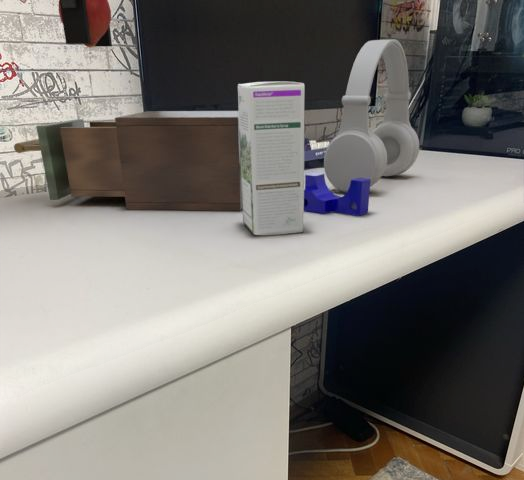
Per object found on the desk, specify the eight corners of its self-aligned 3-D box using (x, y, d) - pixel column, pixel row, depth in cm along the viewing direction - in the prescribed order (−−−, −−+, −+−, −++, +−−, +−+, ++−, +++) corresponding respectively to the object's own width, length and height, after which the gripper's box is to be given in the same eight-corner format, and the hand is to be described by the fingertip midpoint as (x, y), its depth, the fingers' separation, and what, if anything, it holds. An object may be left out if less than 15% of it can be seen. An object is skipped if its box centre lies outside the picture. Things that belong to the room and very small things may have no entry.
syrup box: (305, 232, 57) (309, 81, 50) (251, 236, 56) (248, 82, 49) (289, 220, 62) (291, 80, 55) (240, 224, 61) (235, 81, 54)
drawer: (15, 199, 70) (-2, 126, 66) (55, 183, 80) (43, 119, 76) (151, 201, 68) (143, 125, 64) (174, 184, 78) (169, 118, 74)
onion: (66, 46, 61) (53, -40, 57) (62, 48, 66) (50, -31, 62) (118, 46, 63) (109, -36, 59) (110, 48, 68) (101, -28, 64)
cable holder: (297, 209, 67) (298, 176, 65) (313, 204, 70) (314, 172, 68) (353, 218, 63) (355, 183, 61) (367, 212, 65) (370, 179, 63)
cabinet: (126, 209, 68) (114, 117, 63) (154, 190, 80) (147, 111, 75) (240, 211, 67) (237, 117, 62) (253, 191, 78) (251, 110, 73)
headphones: (369, 172, 92) (379, 44, 84) (417, 175, 88) (433, 41, 80) (320, 192, 77) (325, 37, 68) (375, 197, 73) (389, 34, 64)
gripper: (45, -277, 45) (88, 40, 56) (123, -182, 62) (144, 48, 72) (-38, -271, 46) (20, 41, 56) (61, -179, 62) (91, 48, 73)
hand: (90, 44), depth 64 cm, fingers closed on onion, 6 cm apart
